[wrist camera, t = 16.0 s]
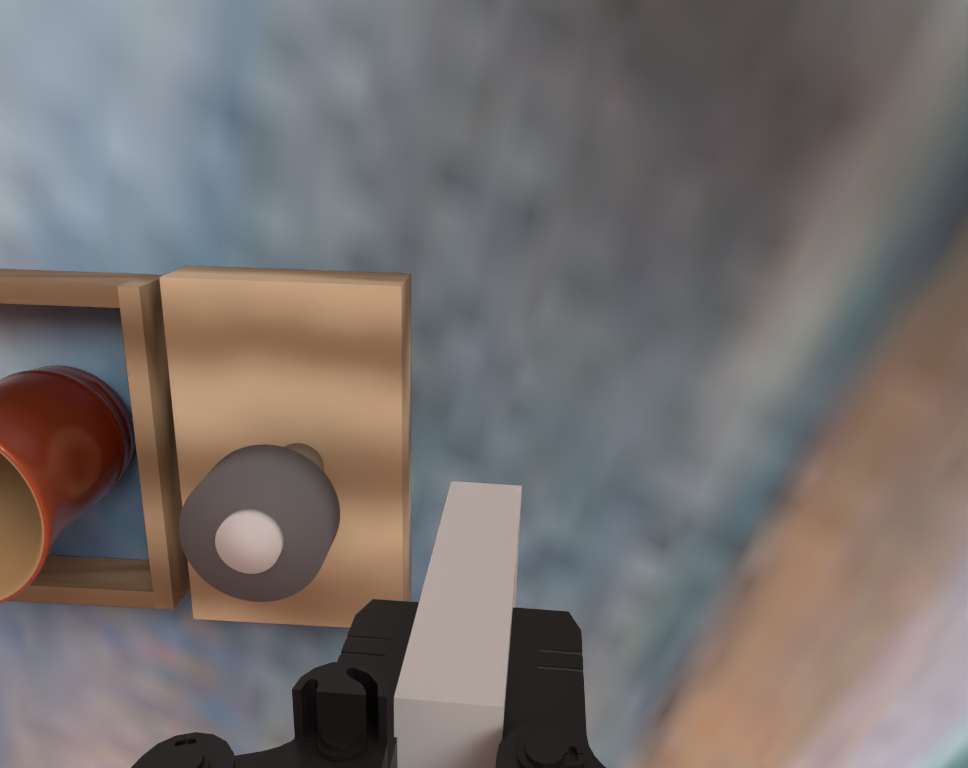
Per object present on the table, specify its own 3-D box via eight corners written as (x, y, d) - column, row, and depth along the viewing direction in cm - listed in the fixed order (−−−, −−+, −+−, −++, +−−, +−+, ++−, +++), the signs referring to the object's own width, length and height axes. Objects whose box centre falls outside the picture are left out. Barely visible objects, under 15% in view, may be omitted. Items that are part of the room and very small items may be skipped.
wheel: (196, 441, 34) (165, 471, 31) (338, 447, 34) (320, 479, 31) (208, 566, 36) (179, 606, 33) (342, 573, 36) (325, 614, 33)
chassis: (-44, 257, 40) (-144, 281, 34) (410, 273, 39) (389, 302, 33) (13, 576, 46) (-65, 645, 40) (411, 597, 45) (392, 672, 39)
